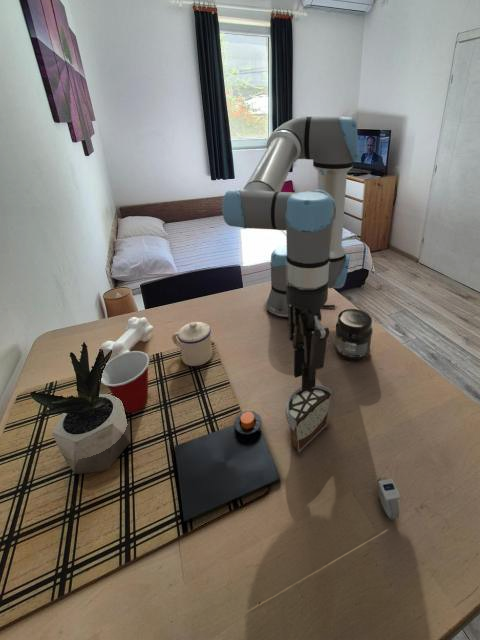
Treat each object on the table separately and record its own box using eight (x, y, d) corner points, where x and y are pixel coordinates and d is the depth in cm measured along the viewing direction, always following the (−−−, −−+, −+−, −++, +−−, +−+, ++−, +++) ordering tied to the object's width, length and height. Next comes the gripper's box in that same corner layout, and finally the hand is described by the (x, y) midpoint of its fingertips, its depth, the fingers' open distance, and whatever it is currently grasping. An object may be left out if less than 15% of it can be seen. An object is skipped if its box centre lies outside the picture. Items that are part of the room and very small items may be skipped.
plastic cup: (110, 394, 82) (99, 357, 77) (156, 381, 86) (148, 345, 81) (107, 429, 73) (95, 389, 68) (158, 413, 77) (150, 374, 72)
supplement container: (358, 337, 104) (361, 305, 99) (376, 358, 94) (381, 324, 90) (328, 343, 100) (330, 311, 96) (344, 366, 91) (347, 332, 87)
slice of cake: (311, 405, 79) (312, 374, 75) (331, 421, 75) (333, 389, 71) (273, 438, 71) (273, 404, 67) (293, 457, 67) (294, 423, 63)
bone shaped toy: (128, 371, 89) (122, 348, 86) (100, 368, 91) (93, 344, 88) (157, 338, 103) (152, 316, 100) (132, 335, 104) (127, 313, 101)
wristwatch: (401, 523, 56) (405, 506, 54) (386, 526, 56) (390, 509, 54) (385, 486, 62) (389, 469, 60) (372, 489, 62) (375, 472, 60)
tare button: (252, 415, 73) (251, 409, 73) (256, 426, 71) (256, 420, 70) (239, 420, 72) (238, 414, 72) (243, 431, 70) (242, 425, 69)
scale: (256, 416, 76) (256, 407, 75) (282, 481, 63) (282, 471, 62) (174, 446, 70) (172, 436, 68) (184, 525, 56) (182, 514, 55)
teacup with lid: (218, 349, 98) (215, 316, 93) (203, 370, 90) (199, 335, 85) (183, 342, 101) (178, 310, 96) (166, 362, 93) (159, 328, 88)
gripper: (350, 298, 53) (340, 404, 62) (305, 260, 66) (303, 352, 76) (309, 308, 50) (305, 417, 59) (271, 266, 63) (273, 360, 73)
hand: (304, 380), depth 67 cm, fingers open, 3 cm apart
